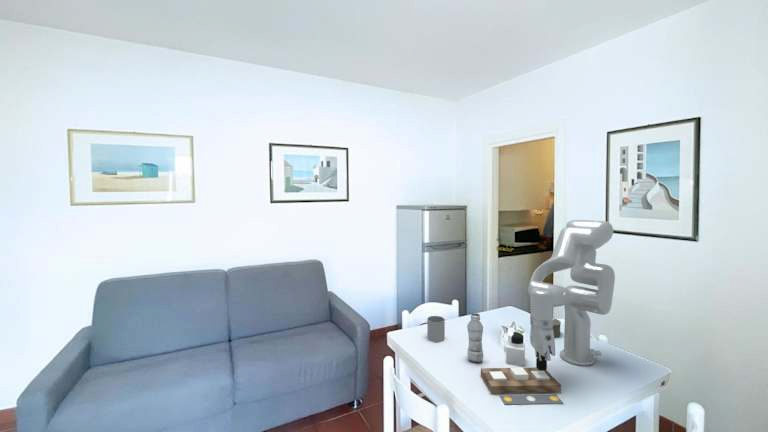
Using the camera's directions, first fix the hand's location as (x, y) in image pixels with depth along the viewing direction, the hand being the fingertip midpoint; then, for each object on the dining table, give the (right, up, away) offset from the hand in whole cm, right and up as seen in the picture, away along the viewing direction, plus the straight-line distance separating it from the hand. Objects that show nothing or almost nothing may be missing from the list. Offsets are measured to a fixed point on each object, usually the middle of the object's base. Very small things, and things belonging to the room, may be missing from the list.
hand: (541, 369), depth 120 cm
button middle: (-9, -3, -1) cm, 9 cm away
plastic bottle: (-20, -5, +17) cm, 27 cm away
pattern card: (-9, -6, -10) cm, 14 cm away
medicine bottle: (-3, -5, +17) cm, 18 cm away
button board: (-9, -5, 0) cm, 10 cm away
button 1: (-17, -5, -1) cm, 17 cm away
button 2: (-1, -5, 0) cm, 5 cm away
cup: (-33, -4, +39) cm, 52 cm away
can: (+25, -3, +44) cm, 51 cm away
